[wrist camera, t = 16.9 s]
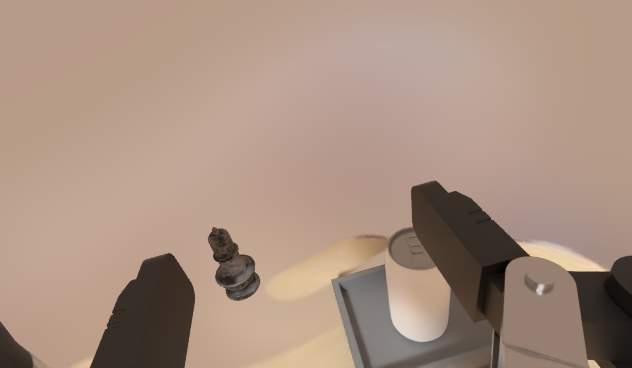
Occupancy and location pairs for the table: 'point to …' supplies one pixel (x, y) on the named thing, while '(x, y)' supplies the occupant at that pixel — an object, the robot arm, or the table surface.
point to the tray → (389, 344)
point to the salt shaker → (233, 266)
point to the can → (415, 289)
